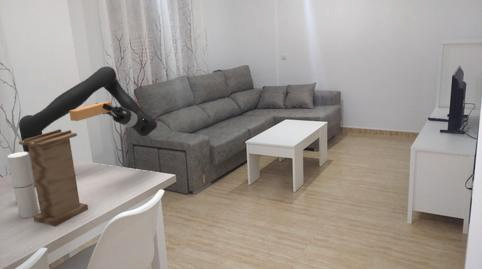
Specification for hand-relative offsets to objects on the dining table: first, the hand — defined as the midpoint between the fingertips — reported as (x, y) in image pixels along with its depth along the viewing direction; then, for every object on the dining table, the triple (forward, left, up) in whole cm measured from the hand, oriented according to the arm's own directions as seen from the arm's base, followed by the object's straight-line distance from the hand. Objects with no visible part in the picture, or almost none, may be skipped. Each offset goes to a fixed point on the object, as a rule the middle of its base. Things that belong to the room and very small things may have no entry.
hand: (99, 105), depth 176 cm
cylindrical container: (-14, -32, -39) cm, 52 cm away
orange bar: (0, -5, -3) cm, 6 cm away
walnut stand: (0, -28, -39) cm, 48 cm away
